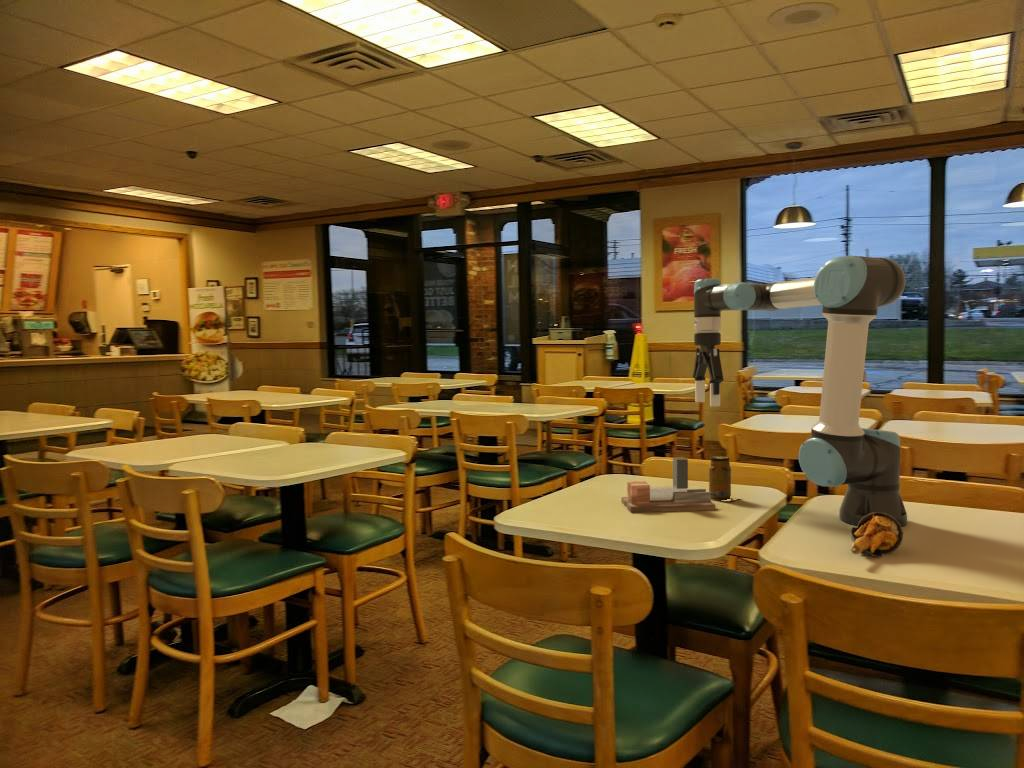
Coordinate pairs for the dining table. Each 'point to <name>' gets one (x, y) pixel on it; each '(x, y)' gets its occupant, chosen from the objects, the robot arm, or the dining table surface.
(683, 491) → the mallet
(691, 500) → the rail slide board
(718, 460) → the condiment
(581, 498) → the dining table surface
